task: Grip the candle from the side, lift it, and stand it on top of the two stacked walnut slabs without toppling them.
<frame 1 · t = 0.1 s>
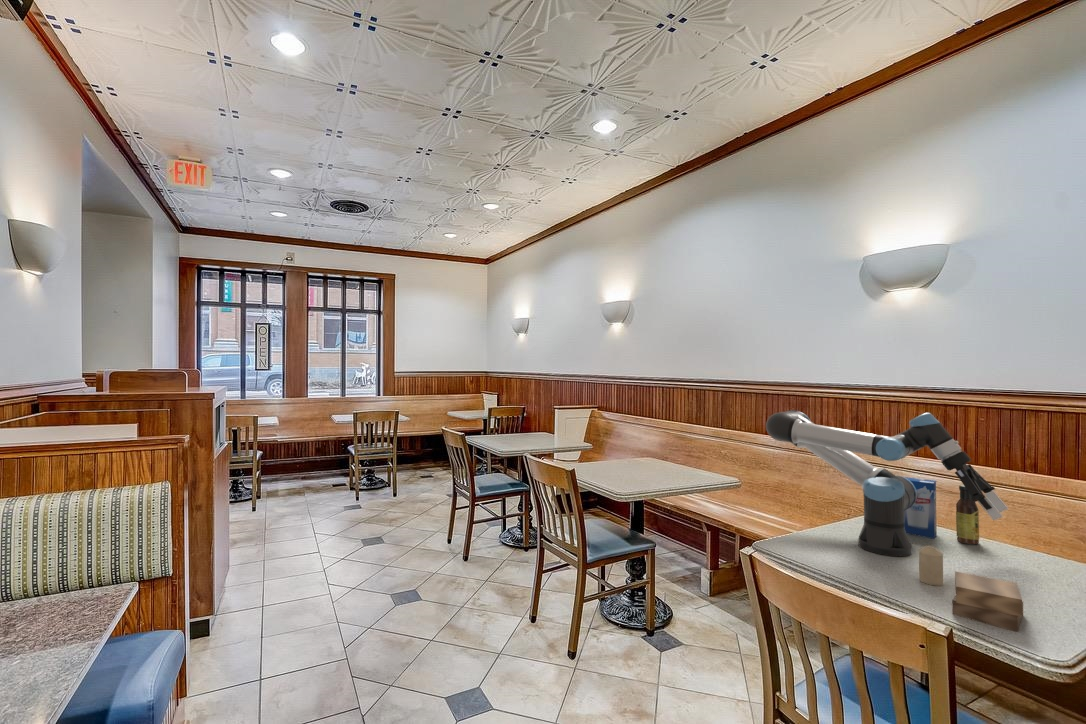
hand: (1001, 514, 162), 15 cm above the table, tool tilted 35°, fingers open, 13 cm apart
sauce bottle: (967, 542, 181), on the table
tower top: (986, 600, 127), point 3 cm above the table, touching tower base
candle: (931, 582, 147), on the table
tower base: (987, 617, 127), on the table, touching tower top
milk carton: (919, 534, 191), on the table
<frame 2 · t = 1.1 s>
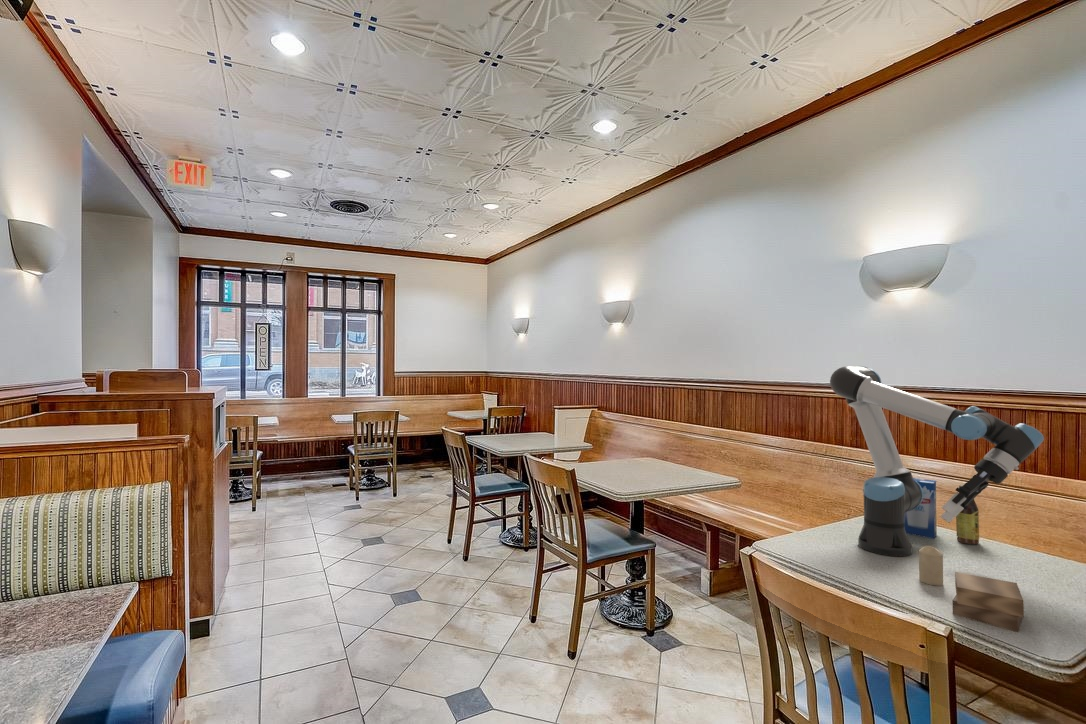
hand: (945, 515, 159), 16 cm above the table, tool tilted 45°, fingers open, 13 cm apart
tower top: (987, 601, 127), point 3 cm above the table
tower base: (988, 617, 127), on the table
everything else where it was.
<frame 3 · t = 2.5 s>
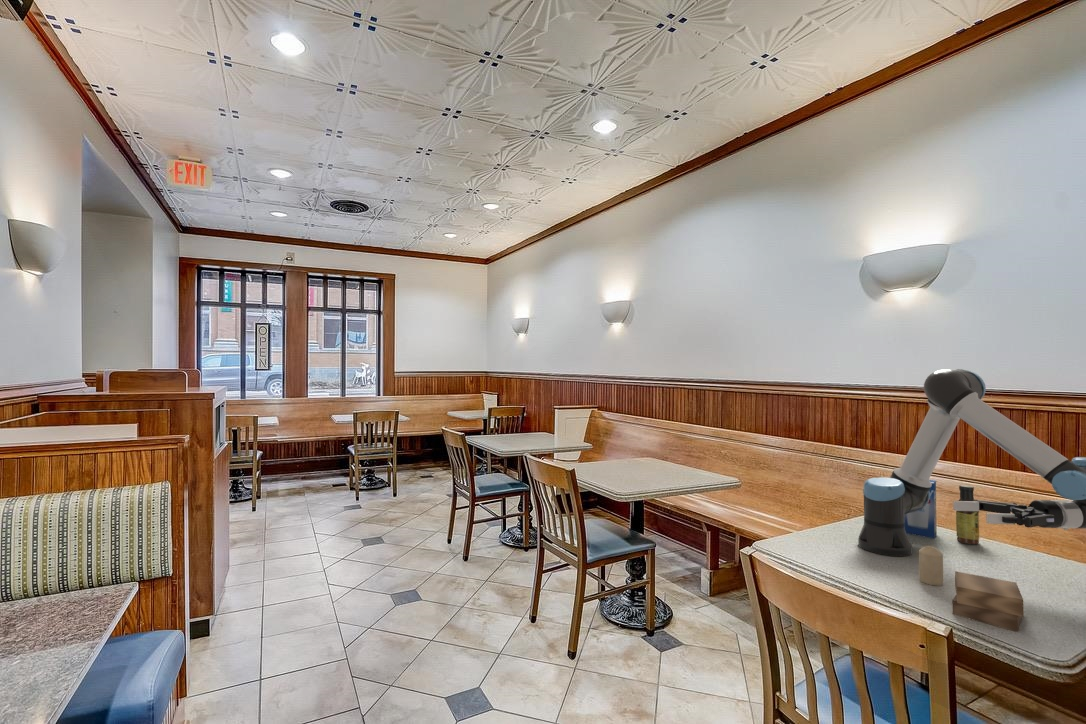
hand: (969, 511, 145), 21 cm above the table, tool horizontal, fingers open, 13 cm apart
tower top: (987, 600, 127), point 3 cm above the table, touching tower base
tower base: (987, 616, 127), on the table, touching tower top
everything else where it was.
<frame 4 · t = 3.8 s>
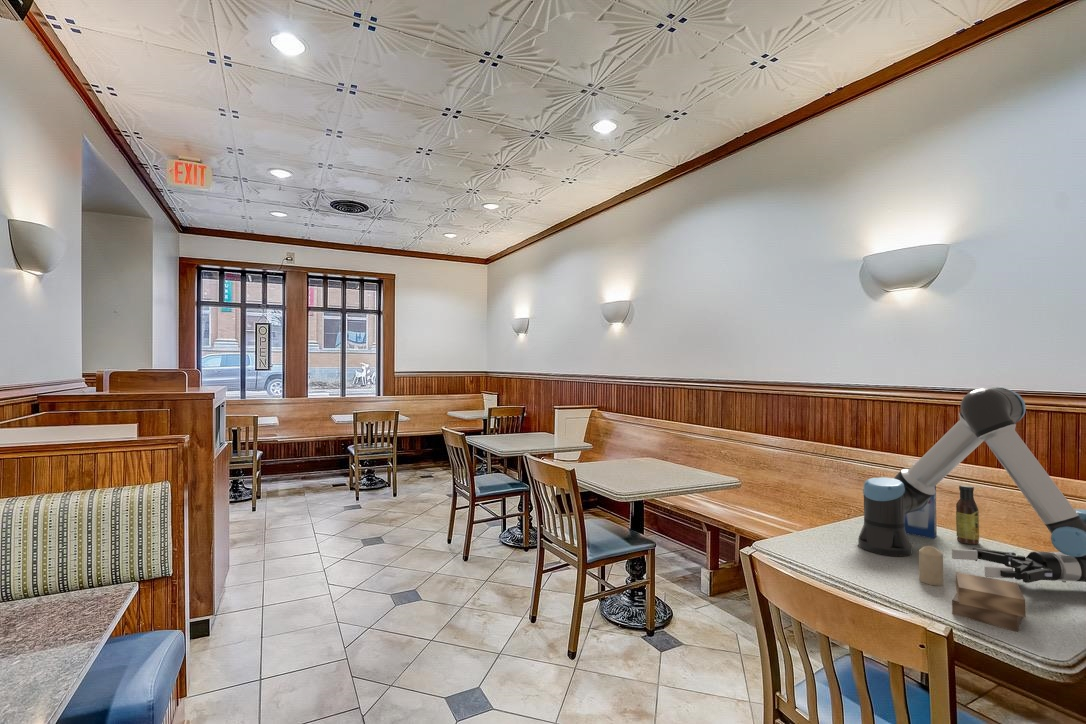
hand: (968, 562, 145), 6 cm above the table, tool horizontal, fingers open, 13 cm apart
nothing on the table moved.
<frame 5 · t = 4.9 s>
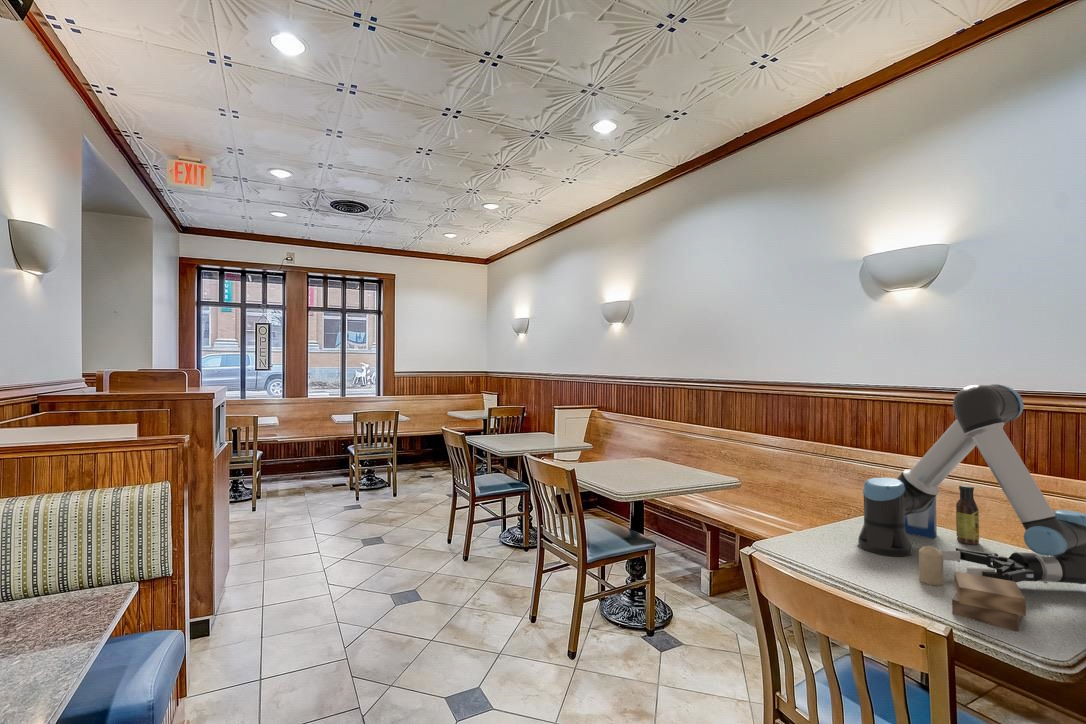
hand: (950, 563, 145), 6 cm above the table, tool horizontal, fingers open, 13 cm apart
nothing on the table moved.
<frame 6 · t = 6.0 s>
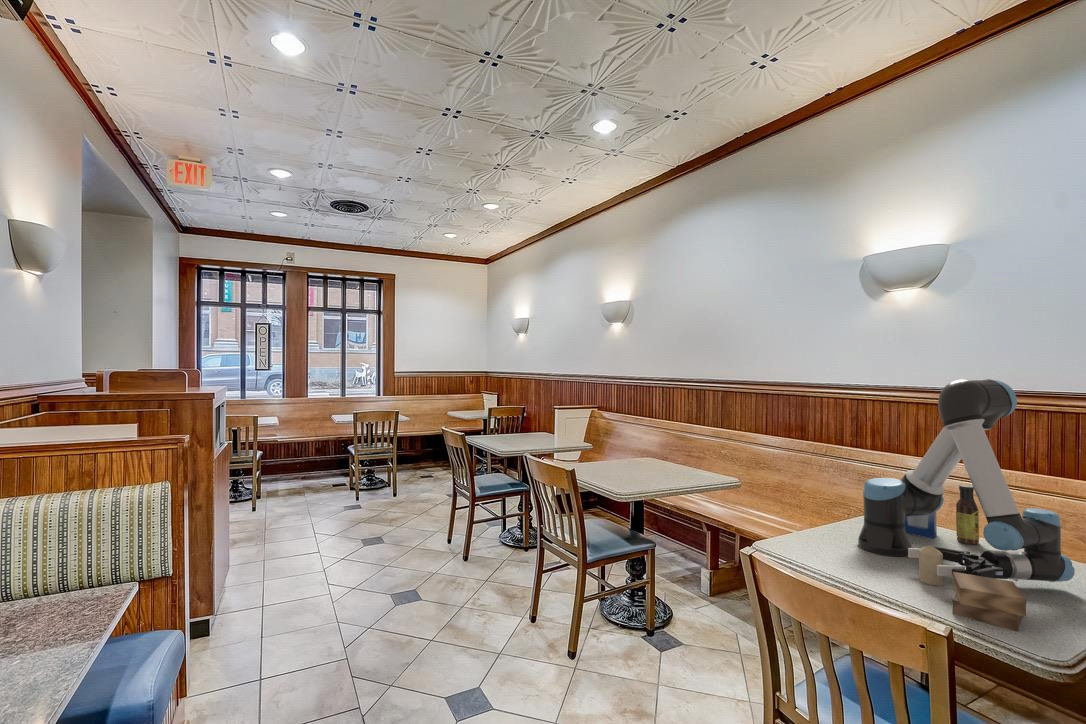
hand: (922, 561, 147), 6 cm above the table, tool horizontal, fingers open, 13 cm apart
nothing on the table moved.
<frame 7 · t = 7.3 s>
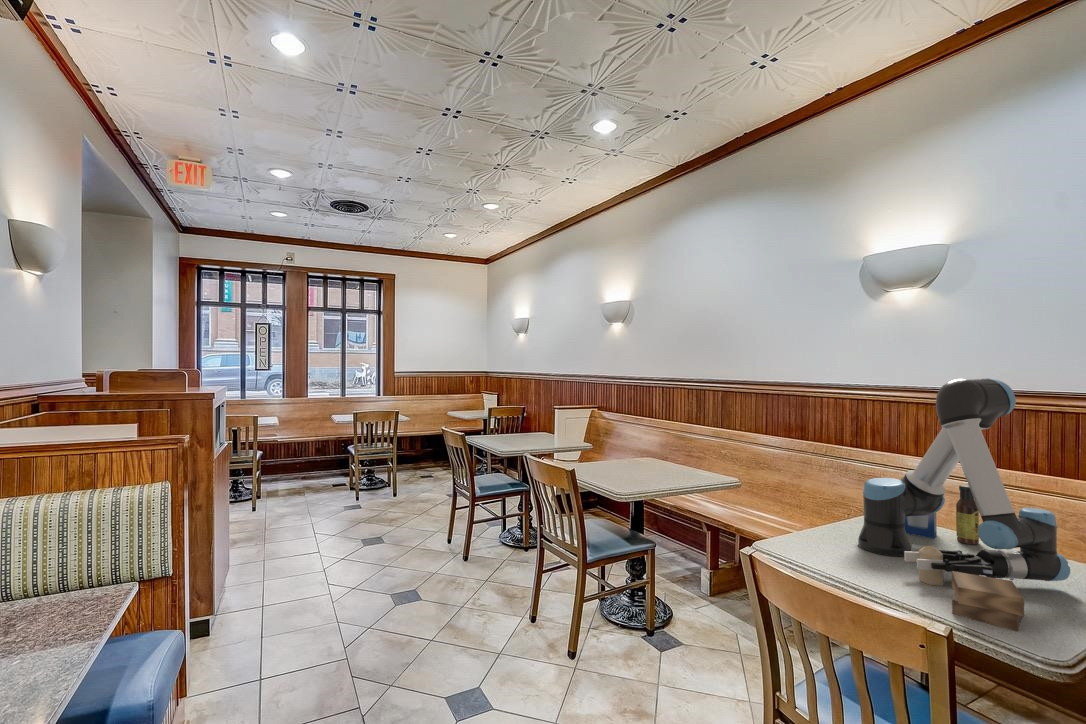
hand: (911, 560, 147), 6 cm above the table, tool horizontal, fingers closed on candle, 5 cm apart
candle: (931, 582, 147), on the table, touching gripper
everything else where it was.
when the fingers open (14 cm above the table, at t = 11.7 s): candle drops 1 cm, resting on tower top.
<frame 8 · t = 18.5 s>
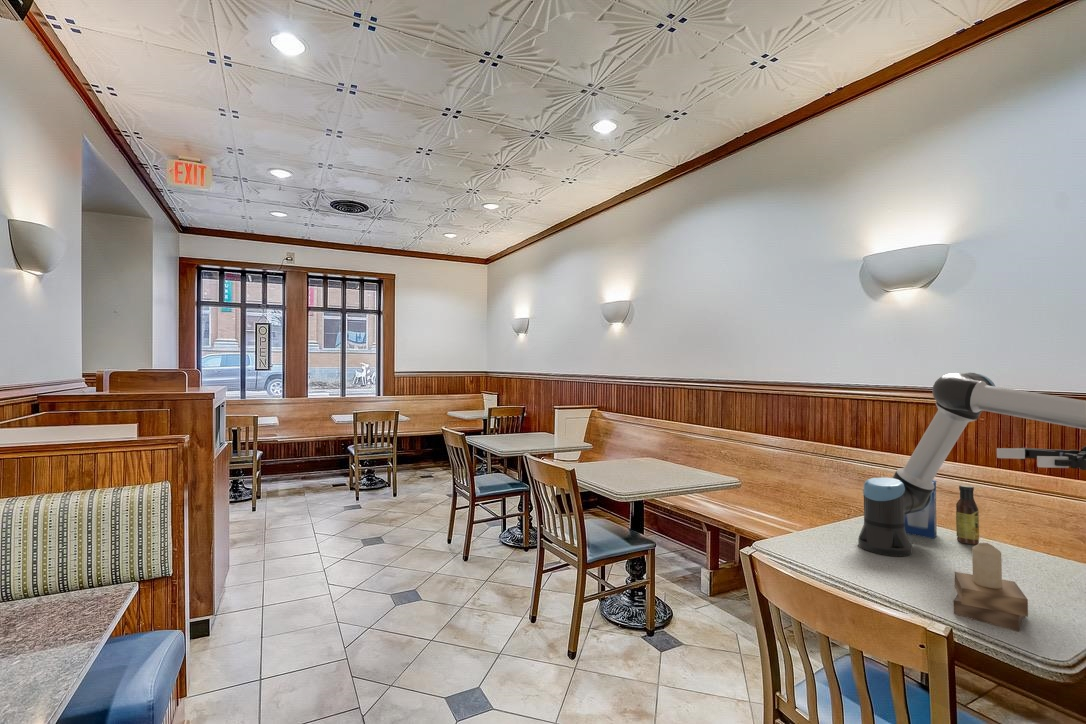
hand: (1016, 457, 135), 38 cm above the table, tool horizontal, fingers open, 13 cm apart
tower top: (988, 600, 127), point 3 cm above the table, touching candle, tower base
candle: (987, 585, 127), point 7 cm above the table, touching tower top
everything else where it was.
at the end: candle inside the target area on the tower top (0.3 cm from its centre), point 3.8 cm above the tower top's base; candle tilted 0°; tower top moved 0.7 cm from its start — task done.
